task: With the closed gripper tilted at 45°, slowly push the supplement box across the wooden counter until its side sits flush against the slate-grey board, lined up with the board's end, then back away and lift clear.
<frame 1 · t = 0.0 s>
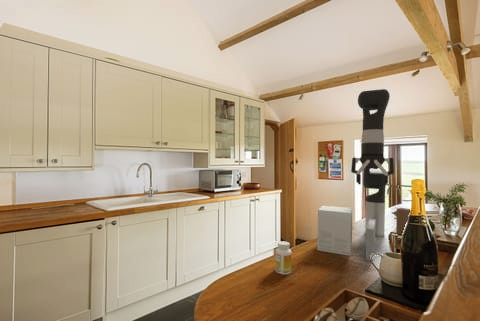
hand: (371, 184, 97), 29 cm above the worktop, tool pointing down, fingers open, 8 cm apart
supplement bottle: (283, 272, 87), on the worktop
grey board: (370, 251, 108), on the worktop
wooden block: (409, 251, 110), on the worktop
supplement box: (334, 249, 111), on the worktop
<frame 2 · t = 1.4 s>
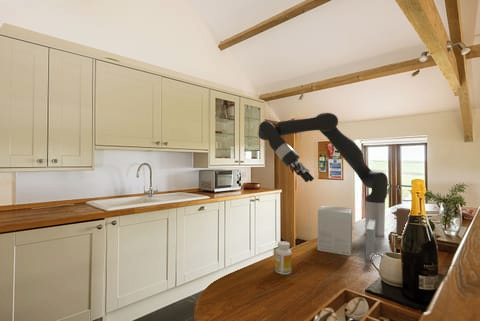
hand: (310, 180, 116), 29 cm above the worktop, tool tilted 45°, fingers open, 8 cm apart
nothing on the worktop moved.
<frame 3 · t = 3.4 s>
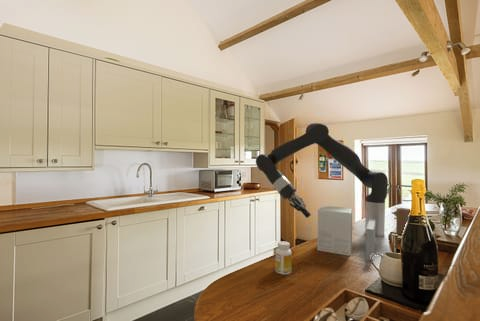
hand: (309, 216, 117), 13 cm above the worktop, tool tilted 45°, fingers closed
nothing on the worktop moved.
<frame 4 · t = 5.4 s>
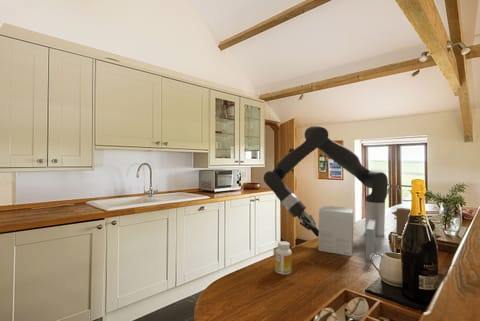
hand: (319, 235, 114), 5 cm above the worktop, tool tilted 45°, fingers closed
supplement box: (335, 249, 111), on the worktop, touching gripper
everything else where it was.
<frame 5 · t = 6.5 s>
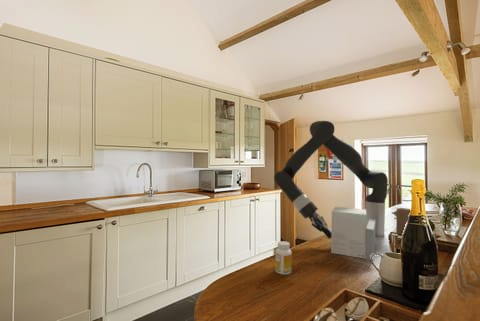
hand: (331, 237, 112), 5 cm above the worktop, tool tilted 45°, fingers closed
supplement box: (348, 251, 108), on the worktop, touching grey board, gripper
everything else where it was.
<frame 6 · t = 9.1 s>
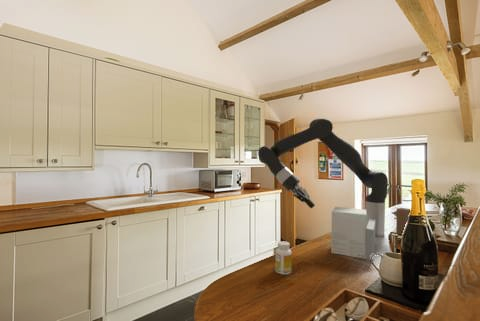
hand: (313, 206, 116), 17 cm above the worktop, tool tilted 45°, fingers closed
supplement box: (348, 251, 108), on the worktop
everything else where it was.
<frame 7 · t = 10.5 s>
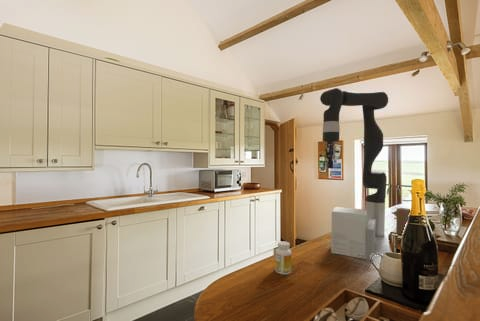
hand: (330, 168, 121), 35 cm above the worktop, tool pointing down, fingers closed
nothing on the worktop moved.
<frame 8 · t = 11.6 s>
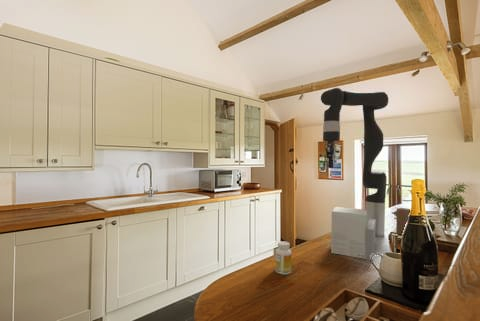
hand: (330, 167, 120), 35 cm above the worktop, tool pointing down, fingers closed
nothing on the worktop moved.
at the end: supplement box 0.1 cm from the target spot on the worktop beside the grey board, on the worktop; supplement box tilted 0° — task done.
